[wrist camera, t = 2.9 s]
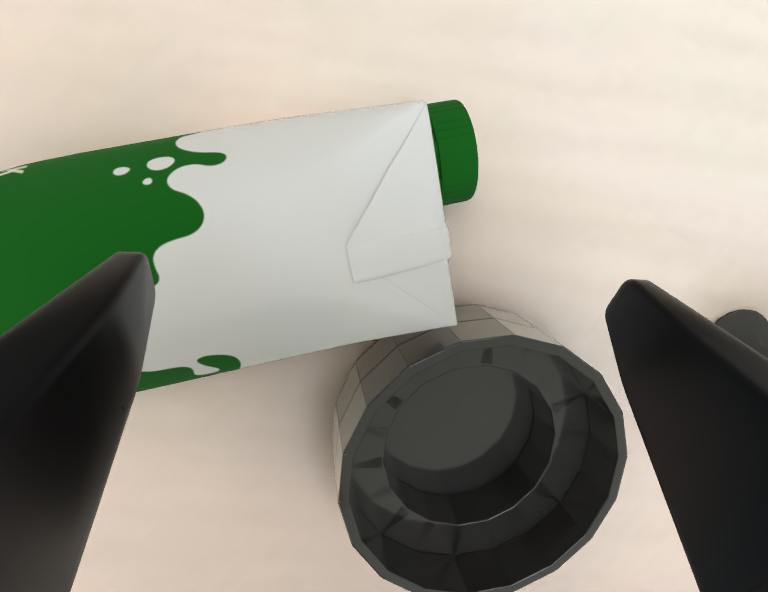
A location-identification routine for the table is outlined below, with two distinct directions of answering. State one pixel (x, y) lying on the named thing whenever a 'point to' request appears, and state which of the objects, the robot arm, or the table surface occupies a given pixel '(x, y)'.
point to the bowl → (474, 454)
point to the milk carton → (254, 232)
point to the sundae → (747, 329)
